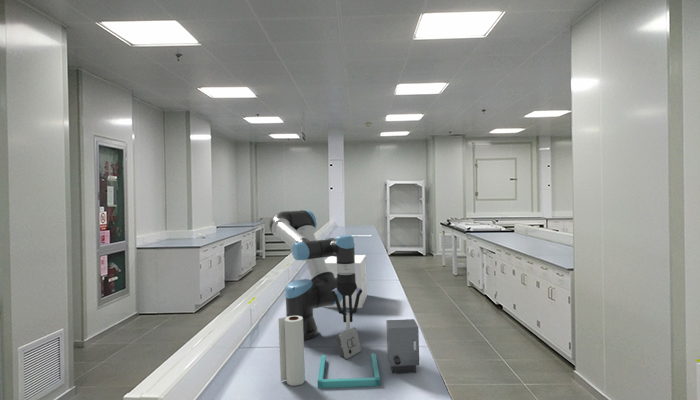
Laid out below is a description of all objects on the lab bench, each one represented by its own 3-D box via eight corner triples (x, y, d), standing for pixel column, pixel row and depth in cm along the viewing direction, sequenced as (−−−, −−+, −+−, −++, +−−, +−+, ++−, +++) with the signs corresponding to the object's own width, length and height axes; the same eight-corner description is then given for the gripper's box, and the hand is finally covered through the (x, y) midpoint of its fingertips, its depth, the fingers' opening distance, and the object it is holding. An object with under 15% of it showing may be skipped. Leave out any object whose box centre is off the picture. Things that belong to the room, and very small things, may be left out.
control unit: (390, 376, 130) (389, 329, 129) (387, 363, 140) (386, 319, 139) (420, 375, 130) (419, 328, 129) (415, 362, 140) (414, 318, 139)
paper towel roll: (308, 381, 129) (306, 317, 128) (294, 388, 124) (292, 322, 124) (294, 374, 134) (292, 313, 133) (280, 381, 129) (278, 317, 128)
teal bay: (317, 388, 124) (317, 381, 124) (321, 360, 144) (321, 355, 144) (380, 385, 124) (380, 379, 124) (375, 358, 144) (375, 353, 144)
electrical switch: (346, 360, 144) (344, 334, 144) (336, 358, 147) (333, 333, 147) (361, 351, 151) (359, 327, 151) (351, 349, 154) (349, 326, 155)
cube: (361, 308, 207) (360, 263, 206) (322, 308, 210) (321, 263, 210) (367, 295, 232) (365, 255, 231) (332, 295, 235) (330, 255, 234)
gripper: (330, 275, 156) (332, 333, 157) (362, 274, 157) (364, 332, 157) (330, 271, 164) (332, 327, 164) (361, 270, 164) (363, 326, 164)
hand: (348, 329), depth 161 cm, fingers closed
